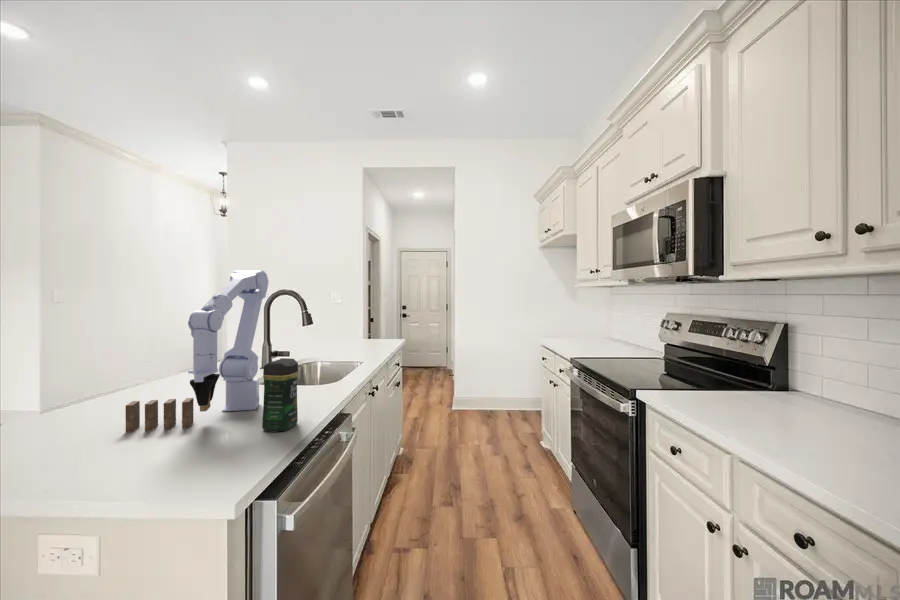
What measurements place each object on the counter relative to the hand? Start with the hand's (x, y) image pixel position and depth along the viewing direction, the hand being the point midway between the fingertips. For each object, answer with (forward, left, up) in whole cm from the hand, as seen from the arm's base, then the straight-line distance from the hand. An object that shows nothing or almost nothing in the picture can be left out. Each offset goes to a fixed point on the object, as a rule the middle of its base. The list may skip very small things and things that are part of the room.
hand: (205, 402), depth 117 cm
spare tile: (0, 0, -2) cm, 2 cm away
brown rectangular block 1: (+13, 0, -6) cm, 14 cm away
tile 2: (+4, 0, -6) cm, 7 cm away
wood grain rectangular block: (+17, 0, -6) cm, 18 cm away
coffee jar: (-20, +8, -6) cm, 22 cm away
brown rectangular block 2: (+8, 0, -6) cm, 10 cm away
